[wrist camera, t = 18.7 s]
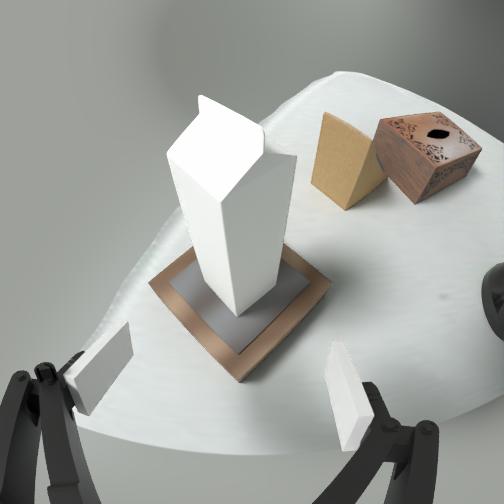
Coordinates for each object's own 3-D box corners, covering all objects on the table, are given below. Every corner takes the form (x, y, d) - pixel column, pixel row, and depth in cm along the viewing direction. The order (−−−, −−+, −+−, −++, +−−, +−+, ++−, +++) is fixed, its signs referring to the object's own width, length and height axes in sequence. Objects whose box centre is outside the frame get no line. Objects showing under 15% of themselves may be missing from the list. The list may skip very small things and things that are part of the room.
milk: (237, 317, 30) (213, 157, 11) (204, 280, 33) (152, 113, 14) (276, 284, 32) (305, 112, 13) (243, 251, 35) (234, 79, 16)
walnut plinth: (324, 294, 36) (332, 281, 33) (239, 383, 30) (237, 380, 27) (241, 226, 42) (240, 208, 38) (157, 295, 36) (147, 281, 32)
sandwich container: (389, 178, 49) (415, 117, 36) (346, 212, 44) (373, 140, 31) (357, 154, 52) (375, 93, 40) (309, 183, 47) (323, 110, 35)
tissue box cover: (413, 205, 46) (435, 167, 37) (366, 157, 52) (379, 119, 44) (465, 176, 52) (482, 148, 43) (427, 140, 58) (440, 111, 50)
